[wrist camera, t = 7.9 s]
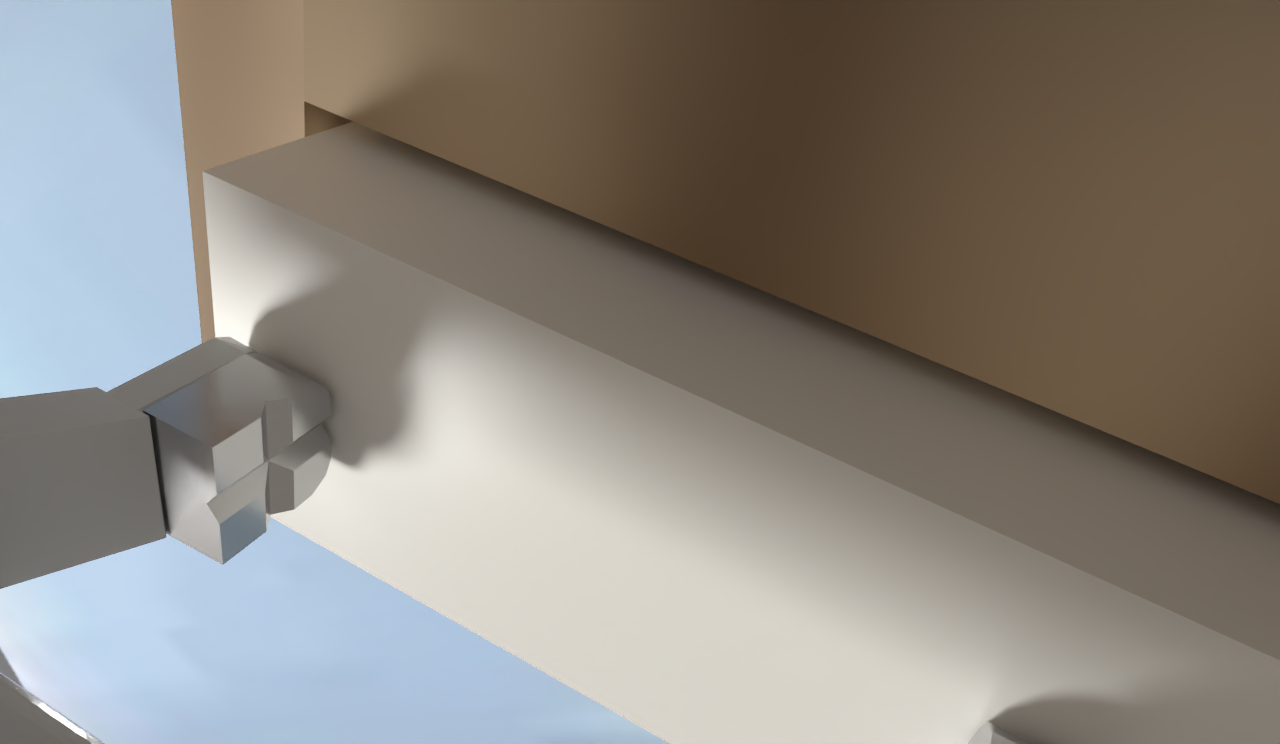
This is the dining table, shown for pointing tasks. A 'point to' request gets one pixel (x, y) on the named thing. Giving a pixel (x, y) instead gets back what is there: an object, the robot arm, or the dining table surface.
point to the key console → (852, 168)
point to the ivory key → (726, 481)
